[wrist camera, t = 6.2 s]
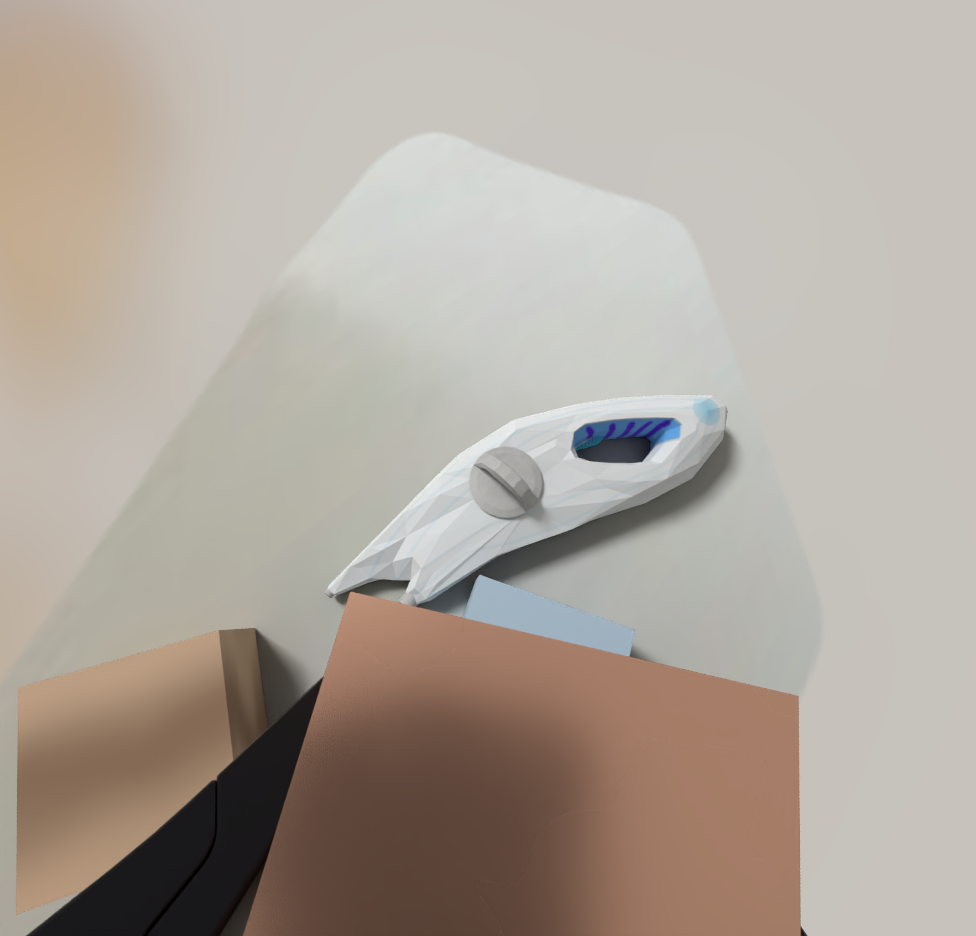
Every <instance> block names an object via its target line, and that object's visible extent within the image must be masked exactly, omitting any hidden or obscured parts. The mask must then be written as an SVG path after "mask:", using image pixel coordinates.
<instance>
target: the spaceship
mask: <svg viewBox="0 0 976 936" xmlns="http://www.w3.org/2000/svg"><path fill="white" fill-rule="evenodd" d="M727 412H728V411H727V408H726V406H725V405H724V404H723V403H722V402H720V401H719V400H718V399H717V398H716V397H715V396H705V395H652V396H638V397H624V398H614V399H608V400H601V401H594V402H587V403H580V404H575V405H571V406H567V407H563V408H559V409H555V410H551V411H547V412H543V413H539V414H535V415H530V416H526V417H522V418H518V419H514V420H512V421H511V422H509V423H508V424H506V425H504V426H503V427H501V428H500V429H498V430H496V431H495V432H493V433H492V434H490V435H489V436H487V437H485V438H484V439H482V440H481V441H479V442H477V443H476V444H474V445H473V446H471V447H469V448H468V449H466V450H465V451H463V452H462V453H460V454H458V455H457V456H456V457H455V458H454V459H453V460H452V461H451V462H450V463H449V464H448V465H447V466H446V467H445V468H444V469H443V470H442V471H441V472H440V473H439V474H438V475H437V476H436V477H435V478H434V479H433V480H432V481H431V482H430V483H429V484H428V485H427V486H426V487H425V488H424V489H423V490H422V491H421V492H420V493H419V494H418V495H417V496H416V497H415V498H414V499H413V500H412V501H411V502H410V503H409V504H408V505H407V506H406V507H405V508H404V509H403V511H402V512H401V513H400V514H399V515H398V516H397V517H396V518H395V519H394V520H393V521H392V522H391V523H390V524H389V525H388V526H387V527H386V528H385V529H384V530H383V531H382V532H381V533H380V534H379V535H378V536H377V537H376V538H375V539H374V540H373V541H372V542H371V543H370V544H369V545H368V546H367V547H366V548H365V549H364V550H363V551H362V552H361V553H360V554H359V555H358V556H357V557H356V558H355V559H354V560H353V561H352V562H351V563H350V564H349V565H348V566H347V568H346V569H345V570H344V571H343V572H342V573H341V574H340V575H339V576H338V577H337V578H336V579H335V580H334V581H333V582H332V583H331V584H330V585H329V586H328V589H327V590H326V591H325V594H326V595H327V596H328V597H330V598H332V597H333V596H334V595H339V594H342V593H344V592H347V591H349V590H352V589H354V588H357V587H359V586H361V585H364V584H366V583H369V582H373V581H377V580H381V579H387V580H410V583H409V585H408V587H407V590H406V592H405V593H404V595H403V596H402V597H401V598H400V599H399V602H400V603H402V604H406V605H410V606H415V607H416V606H417V605H418V604H420V603H424V602H428V601H431V600H432V599H434V598H435V597H437V596H438V595H440V594H441V593H443V592H444V591H446V590H447V589H449V588H450V587H452V586H453V585H455V584H456V583H458V582H459V581H461V580H463V579H464V578H466V577H467V576H469V575H470V574H472V573H473V572H475V571H476V570H478V569H479V568H481V567H482V566H484V565H485V564H487V563H488V562H490V561H491V560H493V559H494V558H496V557H498V556H501V555H503V554H505V553H508V552H510V551H513V550H515V549H518V548H521V547H523V546H526V545H529V544H532V543H535V542H538V541H541V540H543V539H546V538H549V537H552V536H555V535H558V534H561V533H564V532H566V531H568V530H571V529H574V528H576V527H578V526H580V525H582V524H585V523H587V522H589V521H592V520H595V519H598V518H601V517H604V516H607V515H610V514H613V513H616V512H619V511H622V510H626V509H629V508H632V507H635V506H638V505H641V504H644V503H647V502H649V501H650V500H652V499H654V498H656V497H658V496H660V495H662V494H664V493H666V492H668V491H669V490H671V489H673V488H675V487H677V486H679V485H681V484H683V483H685V482H687V481H688V480H690V479H692V478H693V477H694V476H695V474H696V473H697V472H698V470H699V469H700V468H701V467H702V465H703V464H704V463H705V462H706V460H707V459H708V458H709V457H710V455H711V454H712V453H713V451H714V450H715V449H716V448H717V446H718V445H719V444H720V443H721V441H722V440H723V437H724V431H725V424H726V418H727ZM627 437H646V438H647V439H649V440H650V441H651V445H650V453H649V454H648V455H647V457H646V458H645V459H644V460H643V462H638V463H604V462H592V461H588V460H585V459H582V458H578V456H577V453H576V450H580V449H583V448H587V447H591V446H594V445H598V444H599V443H600V442H601V441H602V440H606V439H618V438H627Z"/></svg>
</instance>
